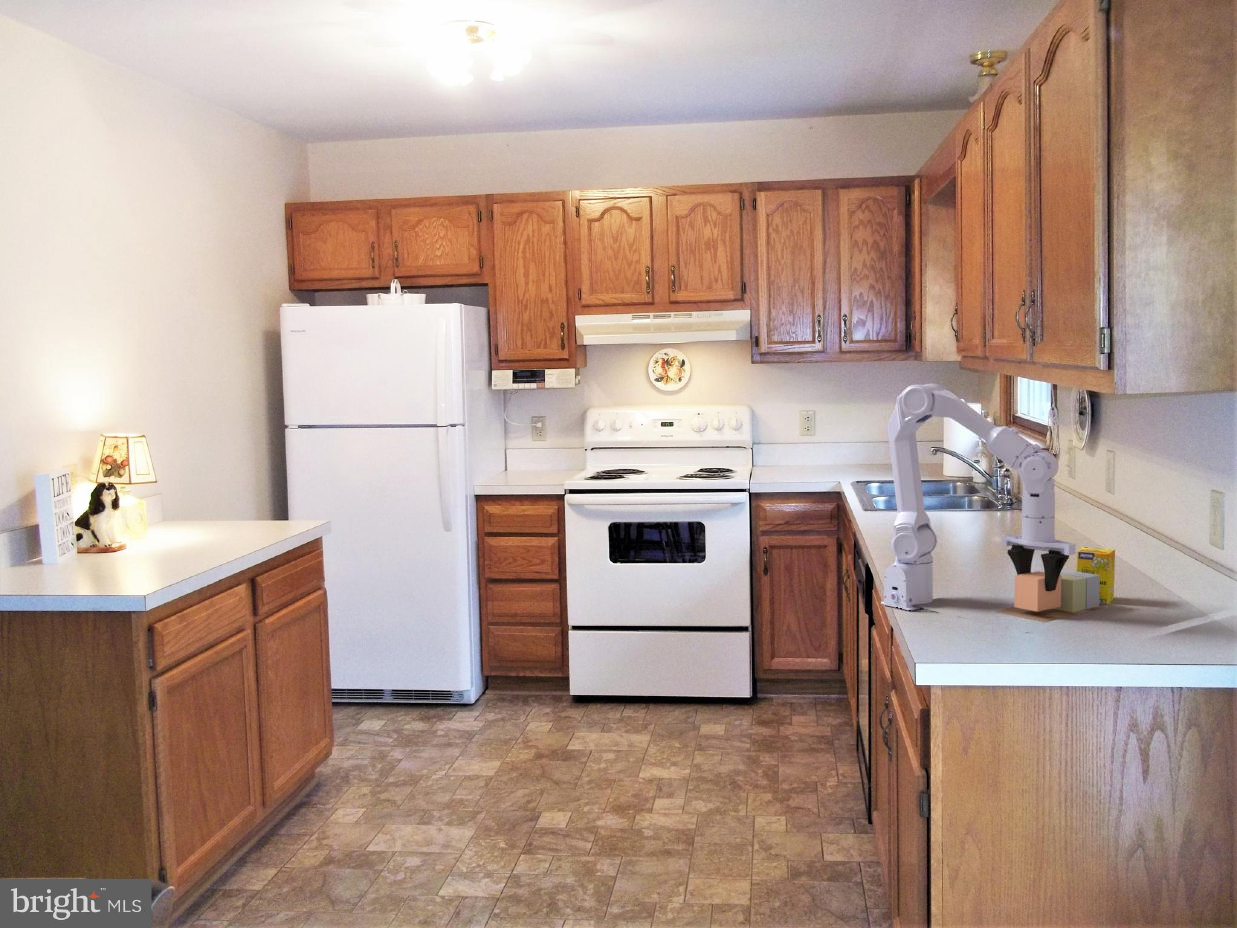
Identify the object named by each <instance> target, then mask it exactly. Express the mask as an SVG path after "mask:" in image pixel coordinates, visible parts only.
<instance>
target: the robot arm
mask: <svg viewBox="0 0 1237 928" xmlns="http://www.w3.org/2000/svg"><path fill="white" fill-rule="evenodd" d="M933 417H936V418H939V417H940V418H948V419H949V418H950V419H952V420H953V421H954V422H957V423H958V424H959V425H960V426H962V427H963V428H965V429H967V430H969V432H972V433H973V434H975V435H976V436H978V437H979V438H981V439H982V440H984V441H985V444H986V449H987V451H988V452H990V453H991V454H992V455H994V456H995V457H996V458H998V459H999V460H1001V461H1002V462H1003V463H1004V464H1006V465H1007V466H1009V467H1010V468H1011V469H1013V470H1015V471H1017V472H1018V475H1019V478H1020V479H1021V480H1022V491H1021V492H1022V493H1021V496H1022V497H1021V505H1022V506H1021V535H1016V534H1015V535H1014V534H1005V535H1002V536H1001V537H1002V540H1001V541H1002V544H1001V545H1002V546H1003V547H1009V546H1010V547H1011V548H1010V549H1007V555H1008V557H1009V558H1010V560H1011V562H1012V564H1013V566H1014V569H1015V571H1016V575H1020V574H1025V573H1031V572H1032V564H1033V558H1034V554H1035V551H1042V552H1047V553H1041V554H1040V558H1041V561H1042V565H1043V569H1044V571H1043V572H1045V589H1046V591H1054V590H1056V586H1057V582H1058V579H1059V576H1060V573H1061V571H1062V569H1064V566H1065V565H1066V563H1067V561H1068V560H1069V558H1070V556H1073V555H1077V552H1076V551H1077V549H1076V548H1077V544H1076V543H1071V542H1068V541H1064V540H1063V541H1062V540H1060V539H1056V537H1055V533H1056V532H1055V530H1056V529H1055V527H1056V526H1055V524H1056V521H1055V519H1056V517H1055V515H1056V491H1055V484H1056V483H1055V478H1054V477H1055V476H1056V475H1057V473H1058V472H1059V471H1058V470H1059V461H1058V460H1057V458H1056V457H1055V456H1054V455H1053V454H1052V452H1051V451H1049V450H1045V449H1042V450H1041V449H1040V448H1041V446H1040V445H1039V444H1038V443H1034V444H1033V443H1031V442H1030V440H1028V439H1026V438H1024V437H1023V436H1021V435H1020V434H1019V432H1020V430H1019V429H1017V428H1016V427H1015V426H1014V427H1011V428H1010V427H1009V426H1006V425H1003V426H999V427H997V426H996V425H995V424H993V422H991V421H990V420H988V419H987V418H986V417H984V416H983V415H982V414H981V413H979V412H978V411H976V410H975V409H974V408H973V407H971V406H970V405H969V404H967V403H966V402H965V401H963V400H962V399H961V398H960V397H959V396H957V395H956V394H954V393H953V392H952V391H950V390H948V389H945V388H943V386H941V385H939V384H937V383H932V382H930V383H926V384H912V385H910V386H907V387H906V388H905V389H904V390H902V392H901V393H899V395H898V396H897V397H896V404H895V407H894V409H893V411H892V414H891V416H890V418H889V421H888V424H887V434H888V443H889V452H890V458H891V459H890V460H891V461H890V462H891V467H892V468H891V469H892V478H893V485H894V495H895V501H896V511H897V513H896V514H897V515H896V517H895V519H894V523H893V536H892V539H891V541H890V542H891V543H890V548H891V552H892V553H893V555H894V557H895V560H894V562H893V563H892V564H890V565H887V567H886V568H885V570H884V574H883V601H881V602H880V605H885V606H888V607H893V608H896V607H898V608H897V609H900V608H902V610H905V611H909V610H911V611H916V609H917V610H921V609H923V607H921V606H917V605H922V604H929V603H932V602H933V601H934V598H933V597H934V587H933V586H934V573H933V572H934V562H933V561H934V558H933V555H932V553H933V551H934V550H935V549H936V547H937V544H938V539H937V534H936V532H935V531H934V529H933V527H932V525H931V519H930V517H929V515H928V514H927V512H926V511H925V503H924V501H925V500H924V494H923V487H922V485H923V484H922V477H921V468H920V461H919V452H918V443H917V442H918V441H917V435H916V434H917V432H918V431H919V429H920V428H921V427H922V426H924V424H925V423H926V422H927V421H928V420H929V419H931V418H933ZM920 608H921V609H920Z"/></svg>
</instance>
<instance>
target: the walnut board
mask: <svg viewBox="0 0 1237 928" xmlns="http://www.w3.org/2000/svg"><path fill="white" fill-rule="evenodd" d="M1108 608H1109V606H1106V605H1101V604H1099V606H1098V607H1094V608H1089V609H1085V610H1081V611H1076V612H1068V611H1063V610H1058V609H1053V608H1052V609H1047V610H1042V611H1038V612H1037V611H1032V610H1027V609H1022V608H1017V607H1014V606H1013V607H1009V608H1004V609H1003V608H1002V609H999V610H994V611H993V612H995V613H998V614H1002V615H1008V616H1012V617H1017V618H1022V619H1025V620H1031V621H1036V622H1041V623H1048V622H1052V621H1056V620H1061V619H1064V618H1069V617H1073V616H1076V615H1077V616H1078V615H1081V614H1085V613H1086V614H1087V613H1091V612H1095V611H1099V610H1103V609H1108Z"/></svg>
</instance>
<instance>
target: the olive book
mask: <svg viewBox="0 0 1237 928" xmlns="http://www.w3.org/2000/svg"><path fill="white" fill-rule="evenodd" d="M1060 575H1061V607H1056V608H1053V609H1058V610H1063V611H1068V612H1076V611H1081V610H1085V609H1086V578H1082V577H1076V576H1070V575H1064V574H1060Z"/></svg>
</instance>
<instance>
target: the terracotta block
mask: <svg viewBox="0 0 1237 928" xmlns="http://www.w3.org/2000/svg"><path fill="white" fill-rule="evenodd" d="M1013 607H1017V608H1022V609H1027V610H1032V611H1037V612H1038V611H1042V610H1047V609H1052V608H1056V607H1061V575H1060V576H1059V579H1058V582H1057V586H1056V590H1054V591H1046V589H1045V572H1044V571H1040V570H1036V571H1031V573H1025V574H1020V575H1017V574H1016V575H1014V606H1013Z"/></svg>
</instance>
